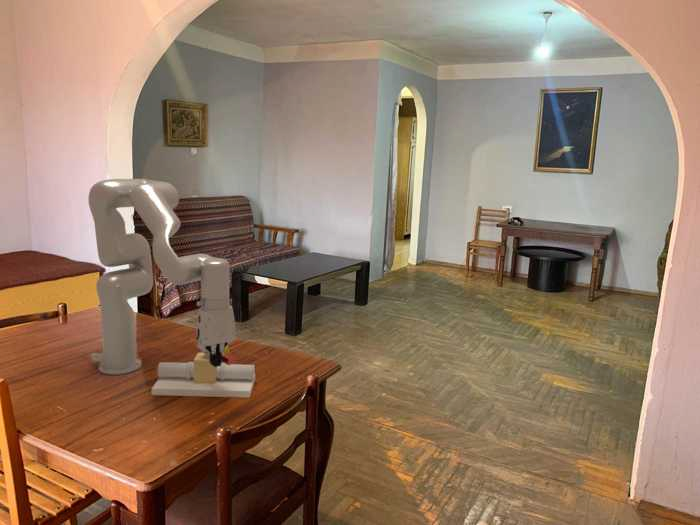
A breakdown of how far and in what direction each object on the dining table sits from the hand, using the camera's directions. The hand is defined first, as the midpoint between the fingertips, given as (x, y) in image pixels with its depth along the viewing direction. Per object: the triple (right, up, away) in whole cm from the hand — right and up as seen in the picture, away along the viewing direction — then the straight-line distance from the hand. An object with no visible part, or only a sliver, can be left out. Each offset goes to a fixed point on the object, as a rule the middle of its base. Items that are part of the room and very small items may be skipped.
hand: (215, 365), depth 152 cm
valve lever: (-1, +2, +5) cm, 5 cm away
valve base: (-5, -8, +9) cm, 13 cm away
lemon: (-5, -5, +27) cm, 27 cm away
